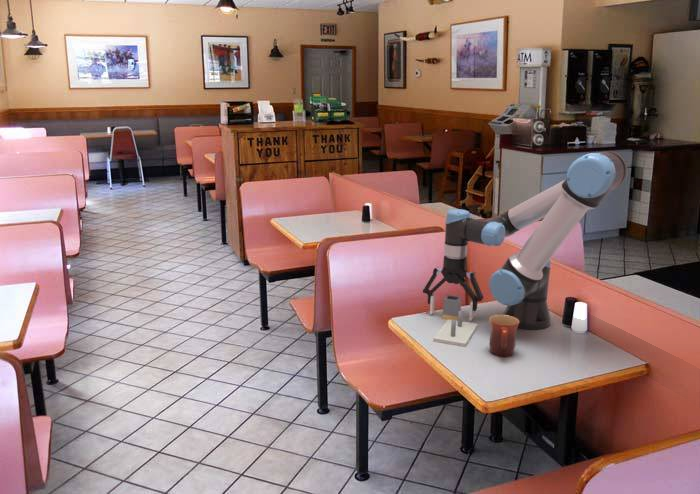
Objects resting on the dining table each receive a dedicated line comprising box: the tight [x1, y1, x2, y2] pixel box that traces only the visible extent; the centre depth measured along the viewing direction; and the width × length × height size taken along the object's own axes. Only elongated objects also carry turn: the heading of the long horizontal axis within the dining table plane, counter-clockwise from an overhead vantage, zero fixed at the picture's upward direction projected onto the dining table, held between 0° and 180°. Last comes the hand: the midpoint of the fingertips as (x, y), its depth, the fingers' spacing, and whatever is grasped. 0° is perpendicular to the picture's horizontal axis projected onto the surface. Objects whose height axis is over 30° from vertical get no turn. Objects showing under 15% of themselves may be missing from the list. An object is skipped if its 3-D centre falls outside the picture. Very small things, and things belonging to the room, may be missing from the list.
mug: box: [488, 314, 520, 357], centre depth 186 cm, size 12×9×10 cm
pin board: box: [432, 310, 479, 348], centre depth 201 cm, size 10×18×6 cm, turn 157°
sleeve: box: [442, 294, 463, 321], centre depth 215 cm, size 5×5×7 cm
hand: (451, 316), depth 216 cm, fingers open, 13 cm apart
